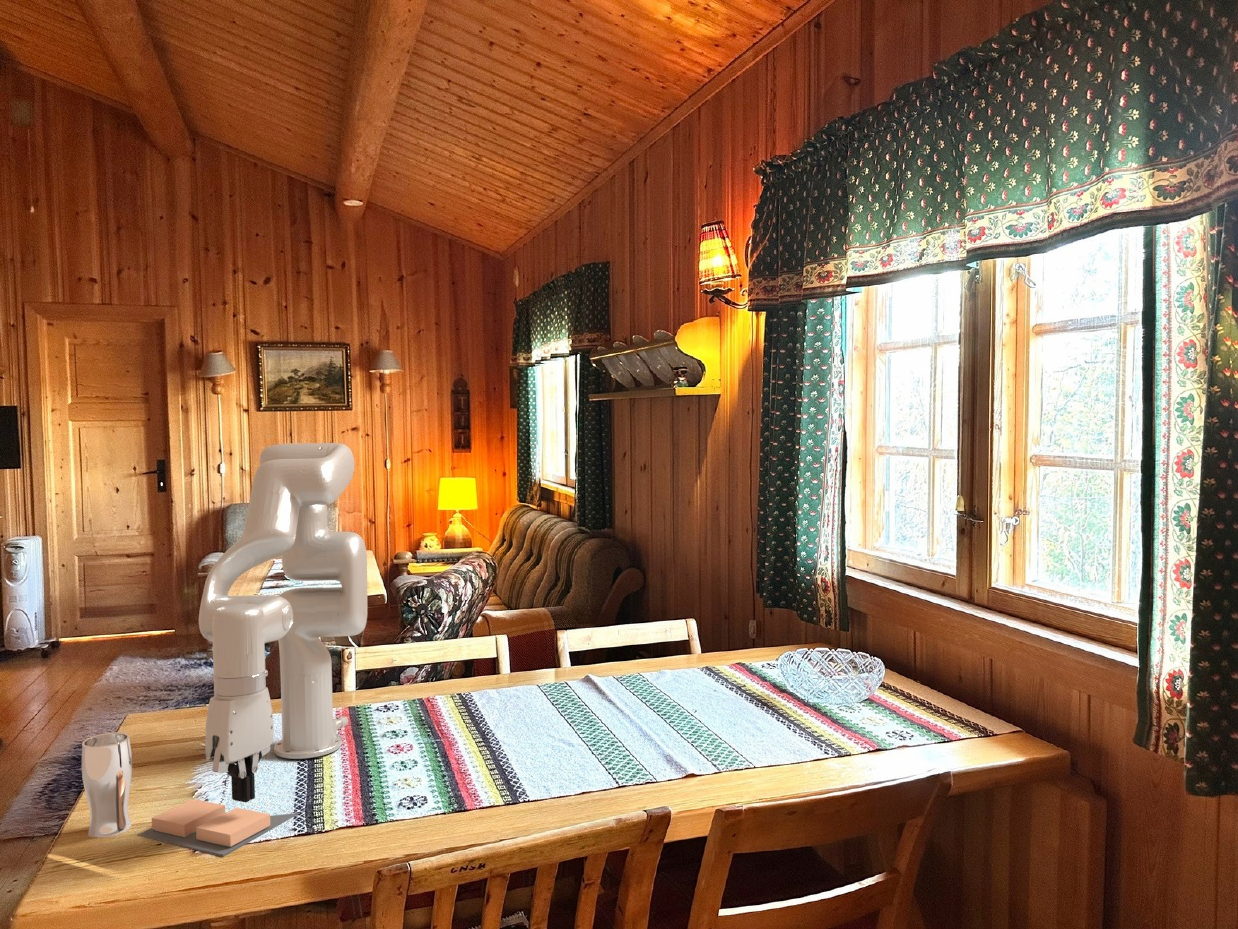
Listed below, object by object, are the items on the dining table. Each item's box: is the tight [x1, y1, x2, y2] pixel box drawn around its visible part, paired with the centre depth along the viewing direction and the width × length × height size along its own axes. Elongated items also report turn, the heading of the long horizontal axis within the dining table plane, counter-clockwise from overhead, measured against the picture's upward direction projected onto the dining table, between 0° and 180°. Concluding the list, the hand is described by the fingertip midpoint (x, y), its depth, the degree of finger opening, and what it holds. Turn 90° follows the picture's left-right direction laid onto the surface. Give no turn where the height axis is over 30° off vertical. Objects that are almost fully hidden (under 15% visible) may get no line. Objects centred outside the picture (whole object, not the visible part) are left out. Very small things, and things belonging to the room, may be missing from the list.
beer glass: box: [81, 731, 133, 838], centre depth 146 cm, size 7×7×15 cm
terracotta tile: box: [151, 798, 226, 837], centre depth 148 cm, size 2×7×8 cm
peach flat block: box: [196, 807, 271, 847], centre depth 144 cm, size 2×7×8 cm
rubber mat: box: [137, 812, 300, 858], centre depth 149 cm, size 18×18×1 cm
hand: (243, 799), depth 146 cm, fingers closed
